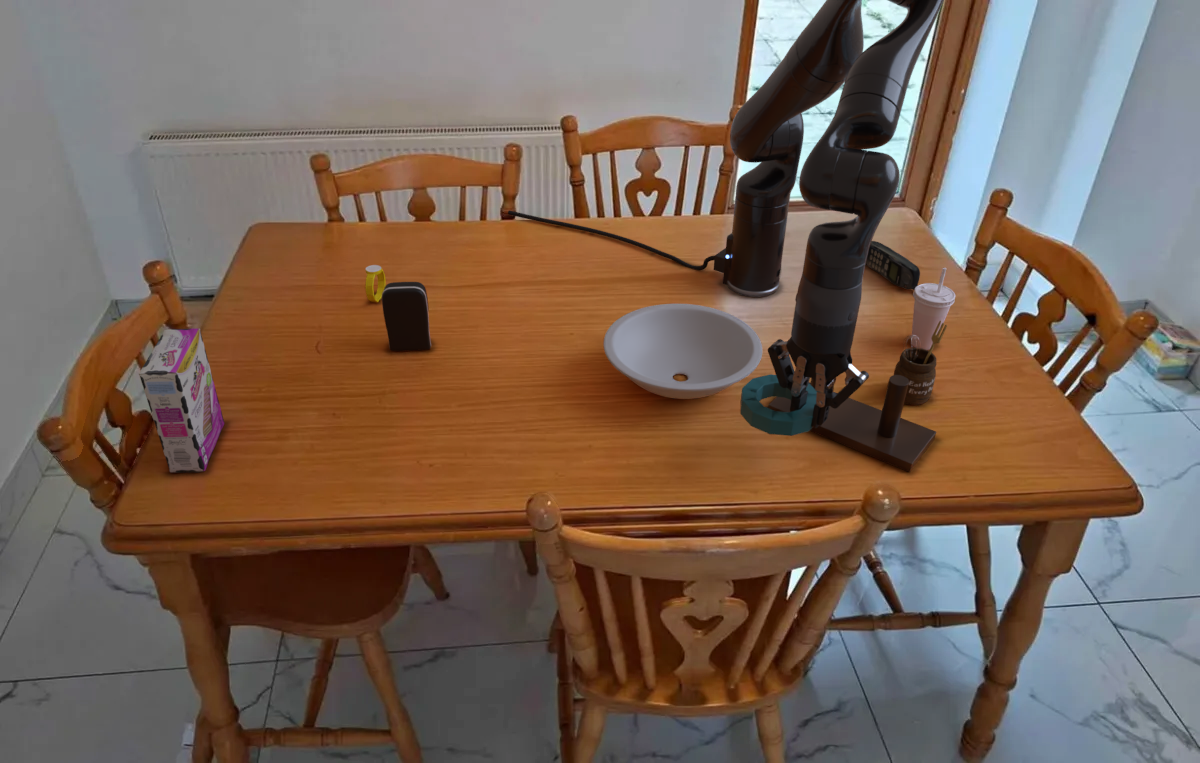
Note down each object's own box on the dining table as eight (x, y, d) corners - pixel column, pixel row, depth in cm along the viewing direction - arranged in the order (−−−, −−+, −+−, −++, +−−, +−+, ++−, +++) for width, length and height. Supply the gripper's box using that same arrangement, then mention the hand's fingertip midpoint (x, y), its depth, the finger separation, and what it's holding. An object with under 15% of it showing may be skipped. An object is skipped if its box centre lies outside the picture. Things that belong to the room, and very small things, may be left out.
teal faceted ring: (726, 415, 125) (727, 400, 123) (764, 380, 131) (766, 365, 130) (795, 445, 119) (798, 431, 118) (831, 407, 126) (834, 393, 125)
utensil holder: (881, 389, 143) (896, 322, 136) (914, 379, 145) (930, 313, 138) (906, 410, 138) (923, 342, 131) (940, 400, 140) (958, 332, 134)
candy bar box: (207, 472, 126) (176, 372, 116) (169, 474, 125) (135, 374, 116) (227, 422, 135) (200, 326, 125) (192, 424, 135) (162, 327, 125)
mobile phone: (862, 240, 174) (918, 272, 163) (874, 237, 175) (931, 269, 164) (858, 264, 176) (913, 298, 165) (870, 260, 178) (926, 294, 166)
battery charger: (433, 338, 154) (426, 277, 147) (431, 351, 151) (424, 289, 144) (391, 340, 153) (382, 278, 147) (388, 352, 150) (379, 290, 144)
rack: (767, 412, 138) (775, 353, 132) (795, 385, 143) (804, 327, 137) (909, 472, 127) (925, 410, 121) (934, 439, 133) (950, 379, 127)
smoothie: (944, 356, 150) (964, 280, 142) (903, 351, 151) (921, 275, 143) (940, 335, 155) (959, 260, 147) (901, 331, 156) (918, 256, 148)
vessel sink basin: (628, 437, 133) (629, 400, 129) (586, 349, 151) (585, 314, 148) (783, 411, 138) (789, 374, 134) (723, 328, 157) (727, 294, 153)
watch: (379, 307, 162) (374, 277, 158) (363, 306, 162) (359, 276, 159) (391, 290, 167) (386, 261, 163) (376, 289, 167) (371, 260, 164)
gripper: (893, 313, 112) (868, 426, 122) (790, 278, 119) (774, 388, 129) (867, 340, 107) (842, 455, 117) (761, 302, 114) (747, 414, 124)
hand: (807, 420), depth 123 cm, fingers closed on teal faceted ring, 2 cm apart
